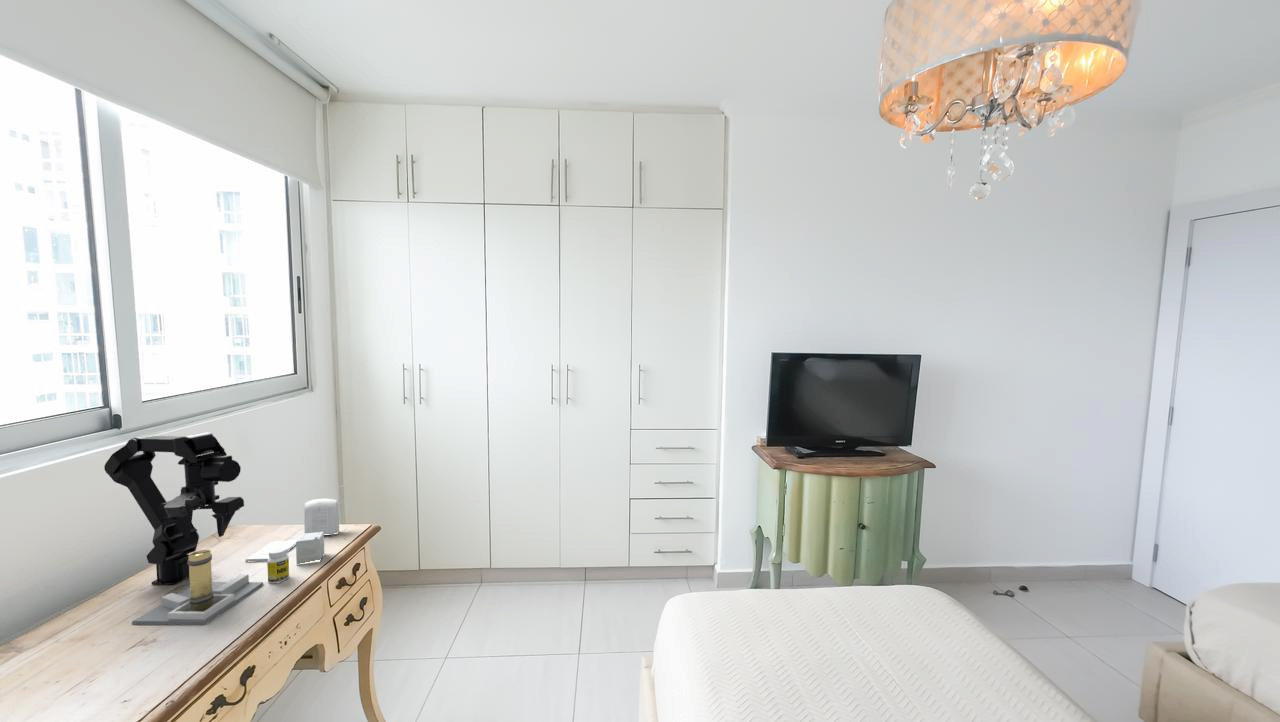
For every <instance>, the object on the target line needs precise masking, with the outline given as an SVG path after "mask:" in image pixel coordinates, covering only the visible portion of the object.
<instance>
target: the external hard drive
mask: <svg viewBox="0 0 1280 722" xmlns="http://www.w3.org/2000/svg"><path fill="white" fill-rule="evenodd" d="M296 541H297V540H275V541H272V542H270V543H268V544H267V545H266V546H264V547H263V548H261V549H260V550H258V551H257V552H255V553H254V554H252V555H250V556H249V557H247V558H246V559H245V563H249V562H248V561H268V559H269V551H271V550H272V549H275V548H280V547H285V548H287V551H288V550H289V549H291V548H292V547H293V546H295V545H296ZM295 547H296V546H295ZM291 550H292V549H291ZM288 552H289V551H288Z"/></svg>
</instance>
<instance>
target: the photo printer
mask: <svg viewBox="0 0 1280 722" xmlns="http://www.w3.org/2000/svg"><path fill="white" fill-rule="evenodd" d="M339 503H340V502H339V500H338V499H333V498H316V499H312V500H309V501H307V502H305V504H304V507H303V510H304V511H303V513H304V517H303V518H304V522H303V523H304V534H305V533H315V532H324V534H334V533H337V532H339V533H340V504H339Z"/></svg>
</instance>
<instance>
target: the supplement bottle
mask: <svg viewBox="0 0 1280 722" xmlns="http://www.w3.org/2000/svg"><path fill="white" fill-rule="evenodd" d="M289 560H290V559H289V555H288V552H287V548H285V547H280V548H275V549H272V550H271V551H269V559H268V561H267V562H266V563H267V566H266V567H267V582H268V583H269V584H279V583H278V582H280V583H282V582H281V581H283V582H285V581H286V580H288V579H289V578H290V564H289V563H290V562H289ZM288 577H289V578H288ZM287 578H288V579H287ZM284 580H285V581H284Z"/></svg>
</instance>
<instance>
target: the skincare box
mask: <svg viewBox="0 0 1280 722" xmlns="http://www.w3.org/2000/svg"><path fill="white" fill-rule="evenodd" d="M295 541H296V546H295V549H296V550H295V552H296V553H295V556H296V557H295V558H296V560H295V561H296V565H297V564H300V563H305V562H310V561H315V560H320V559H321V558H322V559H323V557H324V555H325V536H324V532H315V533H305V532H304V533H301V534H300V535H299V536H298V537H297V539H296V540H295ZM323 554H324V555H323ZM322 556H323V557H322ZM322 559H321V560H322Z"/></svg>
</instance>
